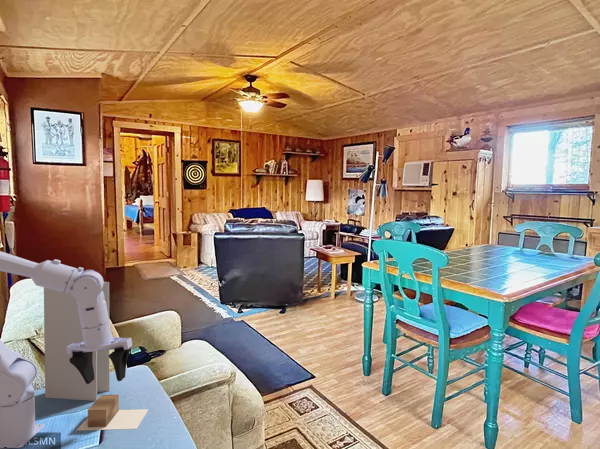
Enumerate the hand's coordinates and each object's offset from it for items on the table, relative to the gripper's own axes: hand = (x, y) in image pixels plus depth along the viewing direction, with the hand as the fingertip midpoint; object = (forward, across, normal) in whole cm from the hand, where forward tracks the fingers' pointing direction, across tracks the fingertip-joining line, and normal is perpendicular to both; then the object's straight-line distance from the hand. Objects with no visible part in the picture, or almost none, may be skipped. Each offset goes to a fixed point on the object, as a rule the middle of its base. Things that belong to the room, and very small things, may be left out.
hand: (105, 380), depth 85 cm
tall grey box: (+9, +16, -10) cm, 21 cm away
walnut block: (+9, +2, 0) cm, 9 cm away
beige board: (+10, 0, 0) cm, 10 cm away
